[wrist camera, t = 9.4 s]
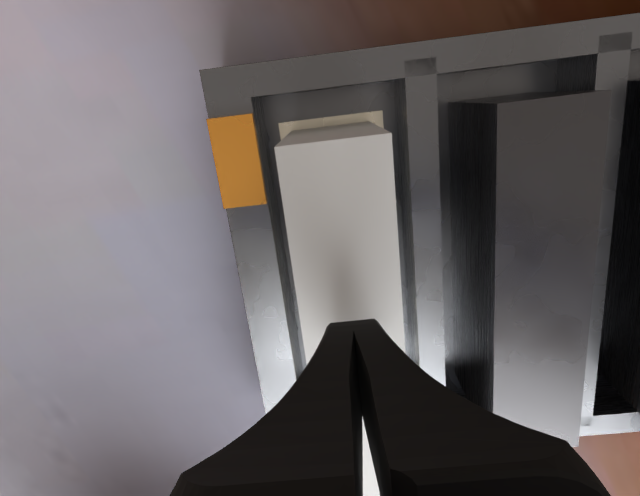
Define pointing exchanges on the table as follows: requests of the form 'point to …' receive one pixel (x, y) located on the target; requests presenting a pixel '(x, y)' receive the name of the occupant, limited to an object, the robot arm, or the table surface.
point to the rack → (468, 210)
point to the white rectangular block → (342, 234)
